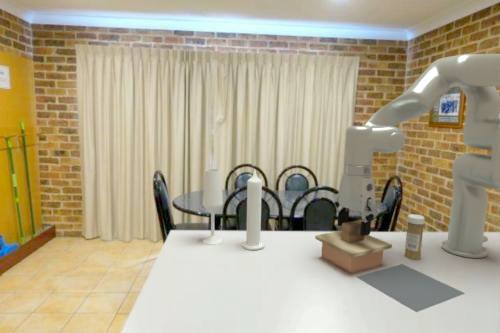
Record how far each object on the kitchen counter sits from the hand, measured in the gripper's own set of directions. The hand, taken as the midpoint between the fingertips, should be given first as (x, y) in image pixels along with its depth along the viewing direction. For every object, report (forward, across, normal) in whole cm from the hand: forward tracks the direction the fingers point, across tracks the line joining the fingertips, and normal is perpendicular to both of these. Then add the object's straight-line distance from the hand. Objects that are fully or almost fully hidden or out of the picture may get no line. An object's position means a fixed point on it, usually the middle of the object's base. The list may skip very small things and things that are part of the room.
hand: (353, 229), depth 100 cm
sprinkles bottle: (+10, -6, -19) cm, 22 cm away
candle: (+10, +23, +20) cm, 32 cm away
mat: (+10, -17, -3) cm, 20 cm away
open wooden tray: (+10, 0, 0) cm, 10 cm away
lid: (+4, 0, 0) cm, 4 cm away
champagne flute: (+10, +33, +30) cm, 46 cm away
